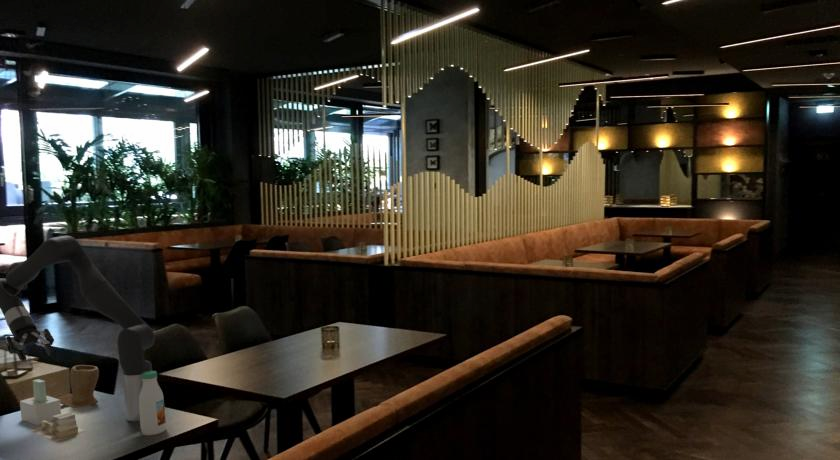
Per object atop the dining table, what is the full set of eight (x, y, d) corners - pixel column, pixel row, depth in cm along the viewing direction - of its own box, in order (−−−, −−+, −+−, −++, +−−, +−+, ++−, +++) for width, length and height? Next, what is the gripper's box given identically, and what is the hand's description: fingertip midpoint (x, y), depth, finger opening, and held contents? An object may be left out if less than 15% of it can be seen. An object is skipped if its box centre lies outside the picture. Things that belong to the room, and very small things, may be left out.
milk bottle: (150, 437, 214) (146, 376, 213) (136, 433, 219) (131, 374, 217) (171, 429, 221) (166, 370, 220) (156, 426, 225) (152, 368, 224)
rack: (30, 435, 222) (29, 422, 221) (60, 425, 230) (59, 412, 229) (56, 445, 211) (55, 431, 211) (87, 435, 219) (86, 422, 219)
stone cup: (107, 403, 253) (104, 364, 252) (76, 412, 243) (72, 372, 242) (86, 397, 261) (83, 359, 260) (55, 406, 252) (52, 367, 251)
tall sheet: (35, 419, 234) (32, 380, 233) (41, 417, 236) (38, 379, 235) (42, 422, 231) (39, 382, 230) (48, 420, 233) (45, 381, 232)
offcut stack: (51, 434, 217) (50, 416, 217) (69, 428, 222) (67, 411, 221) (60, 437, 214) (59, 419, 213) (78, 432, 218) (76, 414, 218)
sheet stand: (21, 423, 234) (19, 400, 233) (45, 416, 240) (43, 394, 240) (37, 429, 227) (35, 406, 226) (61, 422, 233) (59, 399, 233)
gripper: (0, 319, 230) (18, 355, 224) (43, 311, 241) (61, 345, 235) (-5, 332, 233) (13, 368, 227) (38, 324, 245) (55, 358, 239)
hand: (37, 357), depth 231 cm, fingers open, 8 cm apart
